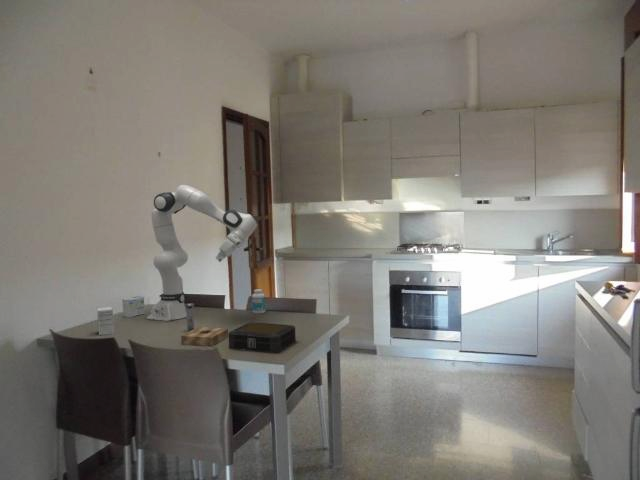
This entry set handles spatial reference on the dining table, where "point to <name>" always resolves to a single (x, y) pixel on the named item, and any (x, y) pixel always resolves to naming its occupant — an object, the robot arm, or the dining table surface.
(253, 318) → the dining table surface
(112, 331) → the supplement box
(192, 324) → the steel pin
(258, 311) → the pill bottle
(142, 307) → the light bulb box
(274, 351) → the cash box
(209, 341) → the block
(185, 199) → the robot arm
